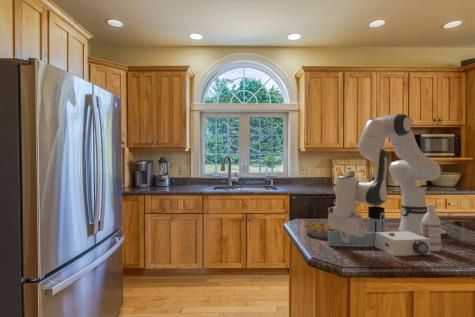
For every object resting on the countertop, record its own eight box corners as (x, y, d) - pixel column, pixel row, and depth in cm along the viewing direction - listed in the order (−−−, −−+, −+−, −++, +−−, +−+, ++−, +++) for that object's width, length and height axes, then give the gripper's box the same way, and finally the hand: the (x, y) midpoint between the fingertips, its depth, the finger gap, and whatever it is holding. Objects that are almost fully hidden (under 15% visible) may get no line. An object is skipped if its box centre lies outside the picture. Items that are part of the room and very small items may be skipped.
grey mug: (381, 235, 156) (381, 206, 156) (394, 242, 142) (394, 211, 142) (364, 234, 156) (364, 206, 156) (375, 242, 142) (375, 211, 142)
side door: (375, 246, 135) (375, 232, 135) (328, 245, 137) (328, 231, 137) (373, 245, 137) (373, 231, 137) (327, 244, 139) (327, 230, 139)
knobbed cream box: (408, 245, 137) (408, 229, 137) (434, 256, 122) (434, 238, 122) (375, 246, 136) (375, 230, 136) (397, 258, 120) (397, 240, 120)
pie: (352, 241, 145) (352, 231, 145) (306, 239, 149) (306, 229, 149) (345, 230, 166) (345, 221, 166) (305, 228, 171) (305, 220, 171)
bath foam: (423, 246, 137) (423, 202, 136) (441, 249, 132) (441, 203, 132) (420, 249, 131) (420, 204, 131) (439, 252, 127) (439, 205, 127)
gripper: (368, 214, 124) (368, 248, 124) (336, 207, 143) (336, 235, 143) (356, 215, 122) (356, 249, 122) (325, 207, 141) (325, 237, 141)
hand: (345, 242), depth 133 cm, fingers closed
